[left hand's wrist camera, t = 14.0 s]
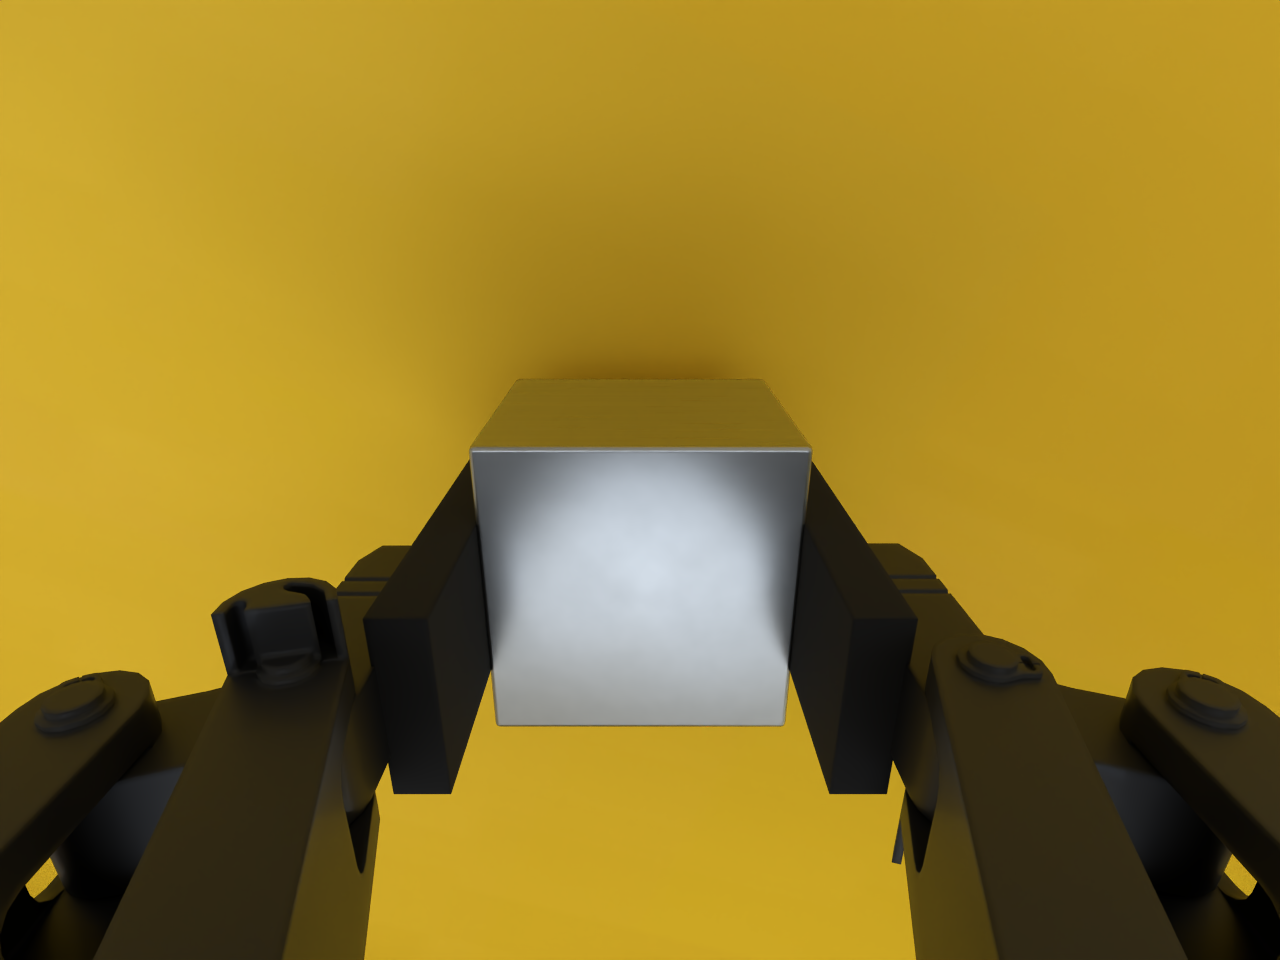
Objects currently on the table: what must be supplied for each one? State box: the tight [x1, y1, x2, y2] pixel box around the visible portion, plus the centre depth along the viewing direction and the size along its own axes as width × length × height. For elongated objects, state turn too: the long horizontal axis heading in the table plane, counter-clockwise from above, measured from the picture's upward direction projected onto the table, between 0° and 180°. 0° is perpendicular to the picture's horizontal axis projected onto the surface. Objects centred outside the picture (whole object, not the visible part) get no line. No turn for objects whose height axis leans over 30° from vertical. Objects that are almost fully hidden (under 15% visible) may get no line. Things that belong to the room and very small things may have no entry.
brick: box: [469, 379, 813, 726], centre depth 13 cm, size 5×5×4 cm
